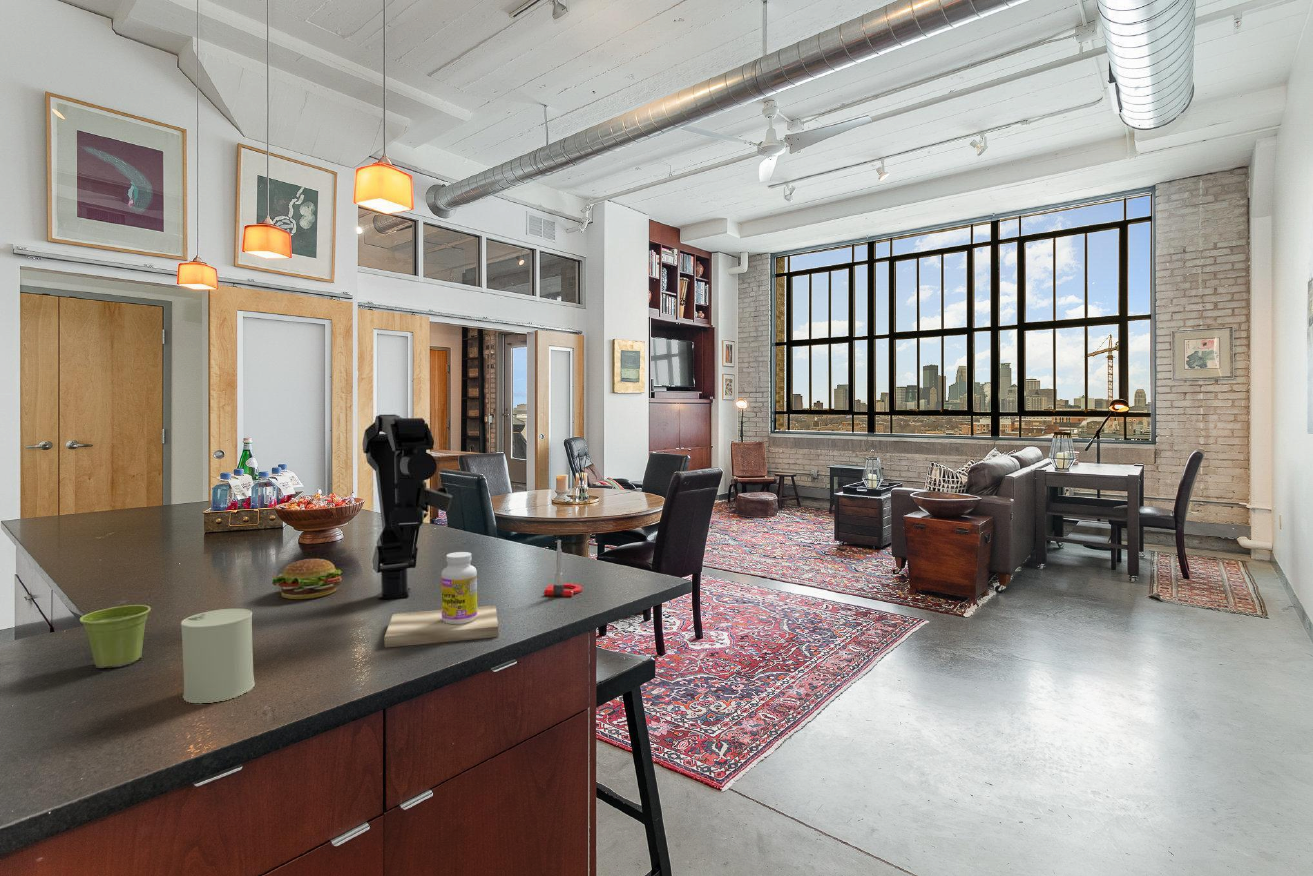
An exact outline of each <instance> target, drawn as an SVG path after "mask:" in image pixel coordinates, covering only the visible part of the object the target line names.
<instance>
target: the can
mask: <svg viewBox="0 0 1313 876" xmlns="http://www.w3.org/2000/svg"><path fill="white" fill-rule="evenodd" d="M252 618H253V611H252V610H249V609H246V608H224V609H223V608H221V609H214V610H209V611H204V612H201V613H196V614H193V615H191V616H188V617H186V618H184V619H183V620H181V622H180V627H181V639H182V642H181V643H182V644H181V645H182V665H183V667H182V668H183V671H182V672H183V696H182V699H183V698H184V700H186V701H188V702H191V703H212V704H214V703H213V702H218V703H220V702H219V701H223V702H226V701H225V700H227V701H229V699H230V700H233V699H232V698H234V699H236V698H238V696H239V697H241V696H244V695H245V694H244V693H246V692H247V693H249V692H251V690H253V689H254V688H255V686H256V683H255V678H254V677H255V676H254V660H253V659H254V655H253V654H254V652H253V624H252V623H253V619H252ZM253 687H254V688H253ZM247 693H246V694H247ZM243 694H244V695H243ZM240 695H241V696H240ZM184 700H183V701H184Z"/></svg>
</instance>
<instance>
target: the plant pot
mask: <svg viewBox="0 0 1313 876" xmlns="http://www.w3.org/2000/svg"><path fill="white" fill-rule="evenodd" d="M151 610H152V608H151V606H149V605H145V604H134V605H133V604H130V605H122V606H121V605H120V606H115V607H108V608H103V609H100V610H96V611H92V612H90V613H87V614H85V615H83V616H81V617H80V618H79V623H81V624H83V627H84V630H85V631H86V632H87V637H88V639H89V640H88V641H89V643H90V644H89V645H90V649H91V653H92V657H93V661H94V665H98V666H113V665H120V664H124V663H129V662H133V661H135V660H137V661H138V660H140V659H139V658H140V657H141V658H142V654H143V644H144V635H145V627H146V621H147V620H148V615H149V613H150V612H151Z"/></svg>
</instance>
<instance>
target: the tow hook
mask: <svg viewBox="0 0 1313 876" xmlns="http://www.w3.org/2000/svg"><path fill="white" fill-rule="evenodd" d="M561 547H562V540H561V539H557V548H556V554H555V555H556V556H555V557H556V563H555V565H556V566H555V567H556V568H555V569H556V571H555V577H554V578H555V580H554V581H555V582H554V584H551V585H547V586H546V587H545V589H544V592H543V594H544V596H548V597H549V596H550V597H551V596H552V597H573V596H574V594H579V593H581V592H582V591H583V586H581V585H579V584H576V583H563V573H562V571H563V570H562V563H563V562H562V558H563V556H562V555H563V553H562V552H563V551H562V548H561Z"/></svg>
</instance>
